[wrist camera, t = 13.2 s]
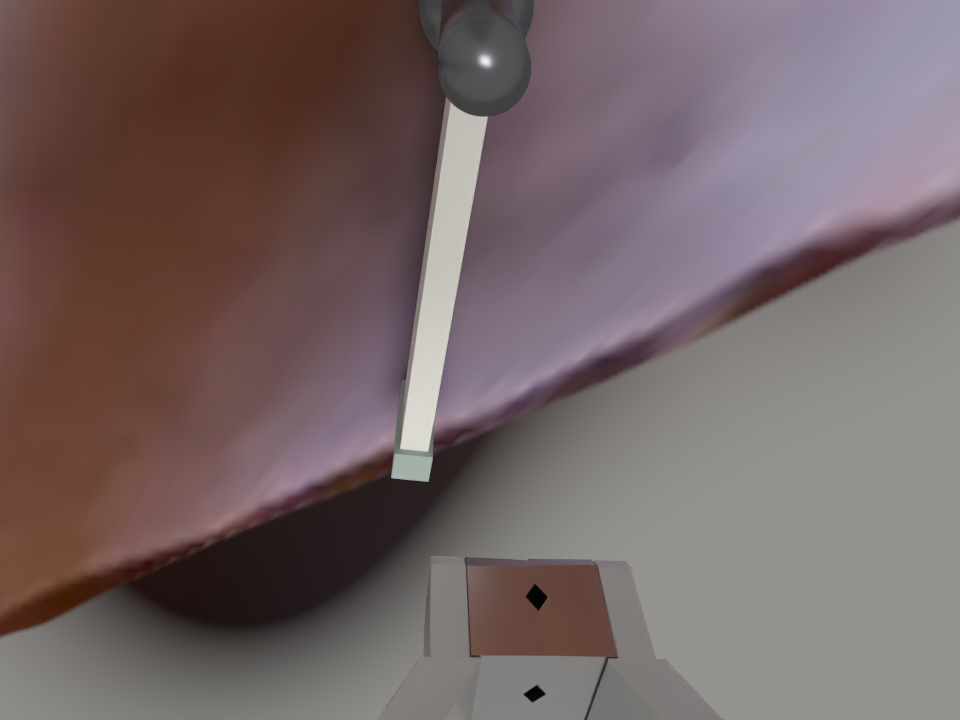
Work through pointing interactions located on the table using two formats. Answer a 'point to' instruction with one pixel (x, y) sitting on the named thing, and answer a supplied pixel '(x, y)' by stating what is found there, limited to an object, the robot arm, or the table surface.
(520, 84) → the hinge post
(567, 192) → the table surface
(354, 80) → the table surface
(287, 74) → the table surface
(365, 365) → the table surface
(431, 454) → the gate
